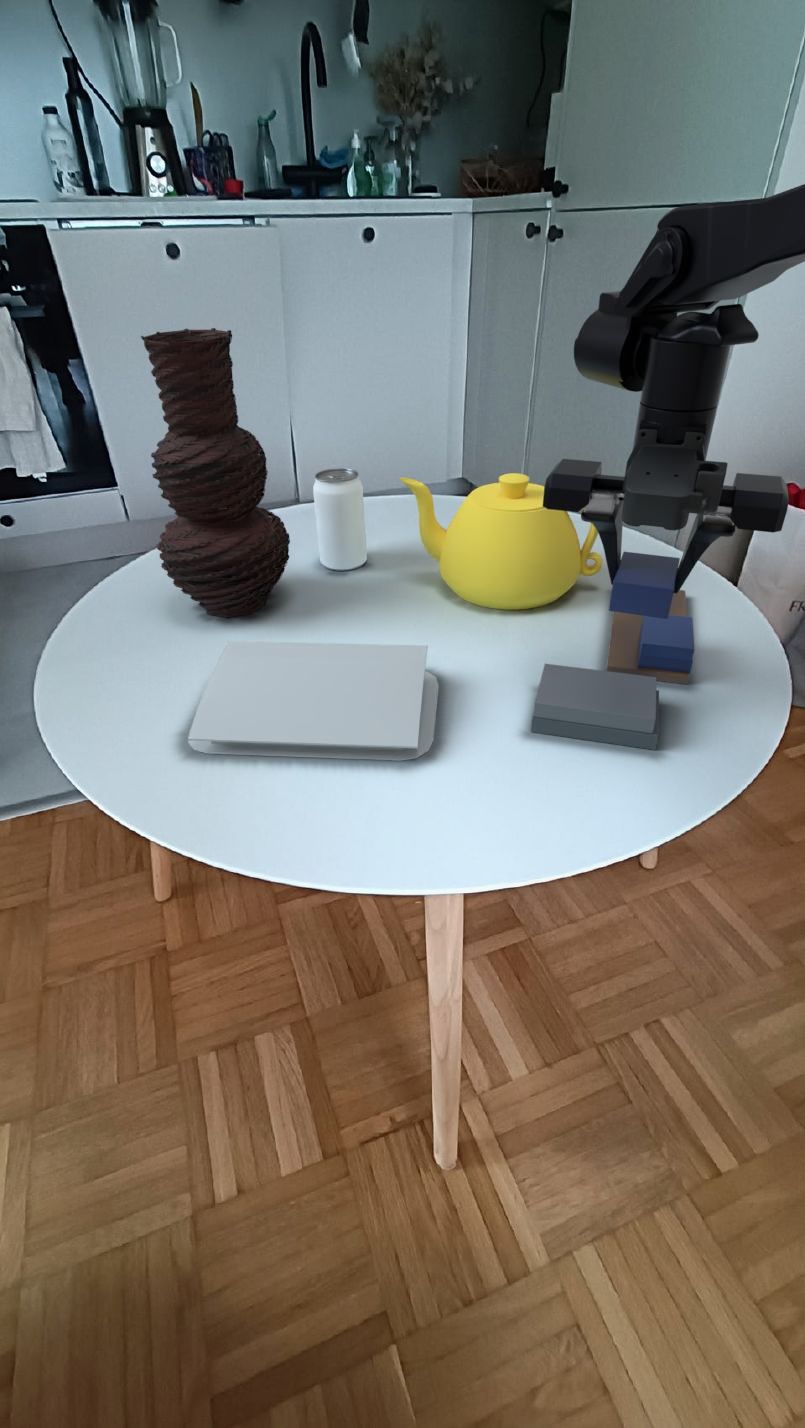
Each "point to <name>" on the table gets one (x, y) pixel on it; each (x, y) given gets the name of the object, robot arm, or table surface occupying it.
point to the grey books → (597, 706)
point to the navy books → (666, 643)
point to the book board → (627, 644)
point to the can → (340, 519)
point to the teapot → (506, 545)
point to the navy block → (644, 585)
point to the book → (318, 701)
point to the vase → (212, 479)
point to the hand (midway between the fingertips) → (644, 587)
